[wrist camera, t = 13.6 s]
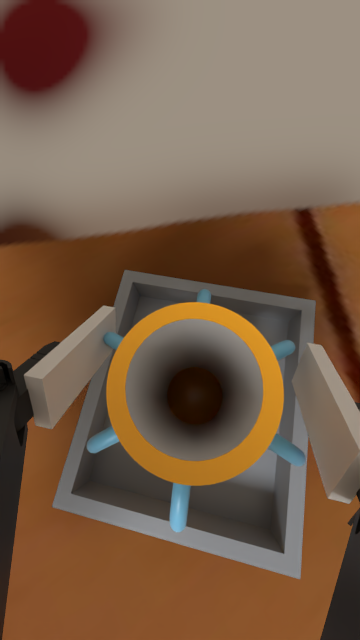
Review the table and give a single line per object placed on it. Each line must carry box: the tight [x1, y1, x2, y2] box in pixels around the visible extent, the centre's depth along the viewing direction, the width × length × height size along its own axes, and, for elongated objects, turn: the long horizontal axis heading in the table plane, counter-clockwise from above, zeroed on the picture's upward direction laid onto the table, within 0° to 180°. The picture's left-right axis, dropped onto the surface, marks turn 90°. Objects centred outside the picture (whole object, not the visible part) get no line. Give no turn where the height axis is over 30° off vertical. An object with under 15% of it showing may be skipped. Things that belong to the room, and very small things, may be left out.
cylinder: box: [87, 289, 306, 532], centre depth 13 cm, size 12×10×15 cm
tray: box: [52, 270, 316, 579], centre depth 20 cm, size 16×18×4 cm
